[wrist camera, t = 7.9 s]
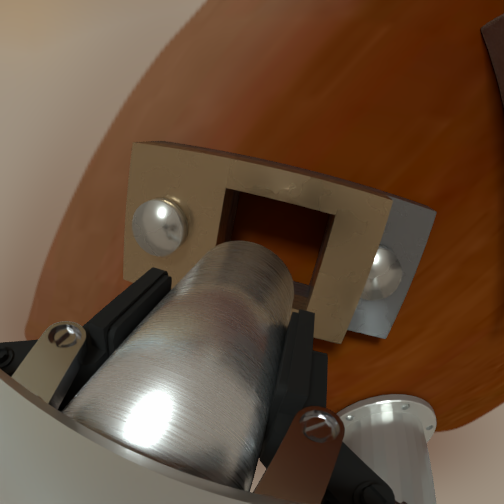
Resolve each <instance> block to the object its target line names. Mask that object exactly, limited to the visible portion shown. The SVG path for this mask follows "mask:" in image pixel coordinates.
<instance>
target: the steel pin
mask: <svg viewBox="0 0 504 504" xmlns="http://www.w3.org/2000/svg"><path fill="white" fill-rule="evenodd" d="M293 299H294V284H293V280H292V277H291V274H290V272H289V270H288V268H287V267H286V265H285V264H284V263H283V261H282V260H281V259H280V258H279V257H278V256H277V255H276V254H274V253H273V252H272V251H270V250H269V249H267V248H265V247H263V246H261V245H259V244H256V243H253V242H248V241H230V242H225V243H222V244H219V245H217V246H215V247H214V248H212V249H211V250H209V251H208V252H207V253H206V254H205V255H204V256H203V257H202V258H201V259H200V260H199V261H198V262H197V263H196V264H195V265H194V267H193V268H192V269H191V270H190V271H189V272H188V273H187V274H186V275H185V276H184V277H183V278H182V279H181V280H180V281H179V282H178V283H177V284H176V285H175V286H174V288H173V289H172V290H171V291H170V292H169V293H168V294H167V295H166V296H165V297H164V298H163V299H162V300H161V301H160V302H159V303H158V305H157V306H156V307H155V308H154V309H153V310H152V311H151V312H150V313H149V314H148V315H147V316H146V317H145V318H144V320H143V321H142V322H141V323H140V324H139V325H138V326H137V327H136V328H135V329H134V330H133V332H132V333H131V334H130V335H129V336H128V337H127V338H126V339H125V340H124V341H123V342H122V344H121V345H120V346H119V347H118V348H117V349H116V350H115V351H114V352H113V353H112V355H111V356H110V357H109V358H108V359H107V360H106V361H105V362H104V364H103V365H102V366H101V367H100V368H99V369H98V370H97V371H96V372H95V374H94V375H93V376H92V377H91V378H90V379H89V380H88V382H87V383H86V384H85V385H84V386H83V387H82V388H81V390H80V391H79V392H78V393H77V394H76V395H75V396H74V398H73V399H72V400H71V401H70V402H69V403H68V404H67V406H66V407H65V408H64V409H63V410H62V411H61V412H62V413H63V414H65V415H66V416H68V417H70V418H71V419H73V420H75V421H76V422H78V423H80V424H81V425H83V426H85V427H87V428H88V429H90V430H92V431H94V432H96V433H97V434H99V435H101V436H103V437H105V438H107V439H109V440H111V441H113V442H115V443H117V444H119V445H121V446H123V447H125V448H127V449H129V450H131V451H133V452H136V453H138V454H140V455H142V456H145V457H147V458H149V459H151V460H154V461H156V462H159V463H161V464H164V465H166V466H169V467H171V468H174V469H176V470H179V471H182V472H185V473H187V474H190V475H193V476H196V477H199V478H202V479H205V480H208V481H211V482H214V483H218V484H221V485H225V486H228V487H232V488H235V489H239V490H243V491H247V492H250V488H251V485H252V481H253V478H254V474H255V470H256V466H257V462H258V459H259V455H260V451H261V447H262V443H263V439H264V435H265V431H266V426H267V422H268V418H269V409H270V405H271V401H272V396H273V392H274V387H275V383H276V378H277V374H278V369H279V365H280V360H281V355H282V351H283V346H284V341H285V336H286V331H287V327H288V324H289V320H290V315H291V309H292V304H293Z"/></svg>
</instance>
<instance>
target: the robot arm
mask: <svg viewBox="0 0 504 504" xmlns="http://www.w3.org/2000/svg"><path fill="white" fill-rule="evenodd" d="M171 285H172V277H171V276H168V272H167V271H164V270H161V269H158V268H155V267H152V268H151V269H150V270H148V271H147V272H146V273H145V274H144V275H142V276H141V277H140V278H139V279H138V280H136V281H135V282H134V283H133V284H132V285H130V286H129V287H128V288H127V289H126V290H124V291H123V292H122V293H121V294H120V295H118V296H117V297H116V298H115V299H114V300H112V301H111V302H110V303H109V304H108V305H107V306H105V307H104V308H103V309H102V310H101V311H100V312H99V313H97V314H96V315H95V316H94V317H93V318H92V319H91V320H89V321H88V322H87V323H86V324H85V325H84V326H83V327H82V326H80V325H79V324H77V323H74V322H69V321H65V322H58V323H55V324H53V325H51V326H50V327H49V328H48V329H46V331H45V332H44V333H43V335H42V336H41V337H40V338H39V340H29V341H18V342H3V343H0V504H436V498H435V490H434V483H433V476H432V470H431V464H430V459H429V453H428V448H427V442H428V441H429V440H430V438H431V437H432V435H433V433H434V431H435V429H436V424H437V423H436V416H435V413H434V410H433V408H432V407H431V406H430V404H429V403H427V402H426V401H425V400H423V399H420V398H418V397H415V396H410V395H402V394H391V395H381V396H377V397H372V398H368V399H365V400H362V401H359V402H356V403H354V404H352V405H350V406H348V407H346V408H344V409H343V410H341V411H339V412H338V413H337V414H336V413H334V412H333V411H331V410H329V409H327V408H326V397H327V364H328V357H327V354H326V353H321V352H317V351H313V336H314V321H315V313H313V312H309V311H305V310H301V309H300V310H299V312H298V313H296V312H292V315H291V318H290V321H289V324H288V327H287V331H286V336H285V341H284V346H283V351H282V355H281V360H280V365H279V369H278V374H277V378H276V383H275V387H274V392H273V396H272V401H271V405H270V409H269V418H268V422H267V426H266V431H265V435H264V439H263V443H262V447H261V451H260V455H259V458H260V461H261V462H262V464H263V465H264V466H265V467H266V471H265V473H264V474H263V476H262V478H261V480H260V481H259V483H258V485H257V487H256V488H255V490H254V492H253V493H251V492H247V491H243V490H239V489H235V488H232V487H228V486H225V485H221V484H218V483H214V482H211V481H208V480H205V479H202V478H199V477H196V476H193V475H190V474H187V473H185V472H182V471H179V470H176V469H174V468H171V467H169V466H166V465H164V464H161V463H159V462H156V461H154V460H151V459H149V458H147V457H145V456H142V455H140V454H138V453H136V452H133V451H131V450H129V449H127V448H125V447H123V446H121V445H119V444H117V443H115V442H113V441H111V440H109V439H107V438H105V437H103V436H101V435H99V434H97V433H96V432H94V431H92V430H90V429H88V428H87V427H85V426H83V425H81V424H80V423H78V422H76V421H75V420H73V419H71V418H70V417H68V416H66V415H65V414H63V413H62V412H61V411H62V410H63V409H64V408H65V407H66V406H67V404H68V403H69V402H70V401H71V400H72V399H73V398H74V396H75V395H76V394H77V393H78V392H79V391H80V390H81V388H82V387H83V386H84V385H85V384H86V383H87V382H88V380H89V379H90V378H91V377H92V376H93V375H94V374H95V372H96V371H97V370H98V369H99V368H100V367H101V366H102V365H103V364H104V362H105V361H106V360H107V359H108V358H109V357H110V356H111V355H112V353H113V352H114V351H115V350H116V349H117V348H118V347H119V346H120V345H121V344H122V342H123V341H124V340H125V339H126V338H127V337H128V336H129V335H130V334H131V333H132V332H133V330H134V329H135V328H136V327H137V326H138V325H139V324H140V323H141V322H142V321H143V320H144V318H145V317H146V316H147V315H148V314H149V313H150V312H151V311H152V310H153V309H154V308H155V307H156V306H157V305H158V303H159V302H160V301H161V300H162V299H163V298H164V297H165V296H166V295H167V294H168V293H169V292H170V291H171Z"/></svg>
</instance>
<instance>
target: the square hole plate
mask: <svg viewBox="0 0 504 504" xmlns="http://www.w3.org/2000/svg"><path fill="white" fill-rule="evenodd" d="M240 191H242V192H246V193H251V194H255V195H259V196H263V197H267V198H271V199H275V200H279V201H283V202H287V203H291V204H295V205H299V206H303V207H307V208H310V209H314V210H318V211H322V212H325V213H329V214H330V215H329V219H328V223H327V226H326V230H325V233H324V237H323V240H322V244H321V247H320V251H319V254H318V258H317V261H316V264H315V268H314V271H313V274H312V278H311V281H310V284H309V285H306V284H302V283H298V282H294V281H293V284H294V299H293V304H292V309H291V315H292V312H296V313H298V312H299V310H300V309H301V310H305V311H309V312H313V313H315V321H314V336H313V337H314V338H318V339H322V340H326V341H330V342H334V343H338V344H341V343H342V340H343V338H344V336H345V333H346V331H347V330H350V331H354V332H358V333H362V334H367V335H371V336H375V337H380V338H384V339H386V337H387V335H388V333H389V331H390V329H391V327H392V325H393V323H394V321H395V318H396V316H397V314H398V312H399V310H400V307H401V305H402V303H403V301H404V298H405V296H406V294H407V291H408V289H409V287H410V284H411V282H412V279H413V277H414V274H415V272H416V269H417V267H418V264H419V262H420V259H421V256H422V254H423V251H424V248H425V245H426V243H427V240H428V237H429V234H430V231H431V228H432V225H433V222H434V219H435V216H436V211H434V210H433V209H431V208H430V207H428V206H426V205H423V204H420V203H417V202H414V201H412V200H409V199H406V198H403V197H400V196H397V195H393V194H390V193H387V192H384V191H381V190H378V189H374V188H371V187H368V186H365V185H361V184H358V183H354V182H351V181H347V180H344V179H340V178H337V177H333V176H329V175H326V174H322V173H318V172H314V171H310V170H306V169H302V168H298V167H294V166H290V165H286V164H282V163H277V162H273V161H268V160H264V159H259V158H255V157H250V156H245V155H240V154H235V153H230V152H225V151H220V150H214V149H209V148H203V147H197V146H191V145H185V144H179V143H172V142H166V141H148V142H133V146H132V154H131V162H130V171H129V181H128V191H127V203H126V217H125V236H124V268H123V279H124V280H127V281H130V282H133V283H134V282H135V281H136V280H138V279H139V278H140V277H141V276H142V275H144V274H145V273H146V272H147V271H148V270H150V269H151V268H152V267H155V268H158V269H161V270H164V271H167V272H168V276H171V277H172V285H171V290H172V289H173V288H174V286H175V285H176V284H177V283H178V282H179V281H180V280H181V279H182V278H183V277H184V276H185V275H186V274H187V273H188V272H189V271H190V270H191V269H192V268H193V267H194V265H195V264H196V263H197V262H198V261H199V260H200V259H201V258H202V257H203V256H204V255H205V254H206V253H207V252H208V251H209V250H211V249H212V248H214V247H215V246H217V245H219V244H222V243H225V242H230V241H231V237H232V231H233V226H234V221H235V215H236V210H237V205H238V200H239V194H240ZM291 315H290V318H291ZM289 321H290V320H289Z"/></svg>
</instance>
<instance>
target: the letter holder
mask: <svg viewBox="0 0 504 504" xmlns="http://www.w3.org/2000/svg"><path fill="white" fill-rule="evenodd" d="M481 32H482V34H483V37H484V40H485V43H486V46H487V48H488V51H489V55H490V58H491V60H492V65H493V68H494V71H495V74H496V78H497V82H498V86H499V89H500V94H501V98H502V103H503V106H504V14H503V15H501V16H499V17H497V18H494V19H493V20H492V21H490V22H488V23H487V24H486V25H484V26H483V27H482V28H481Z"/></svg>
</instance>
